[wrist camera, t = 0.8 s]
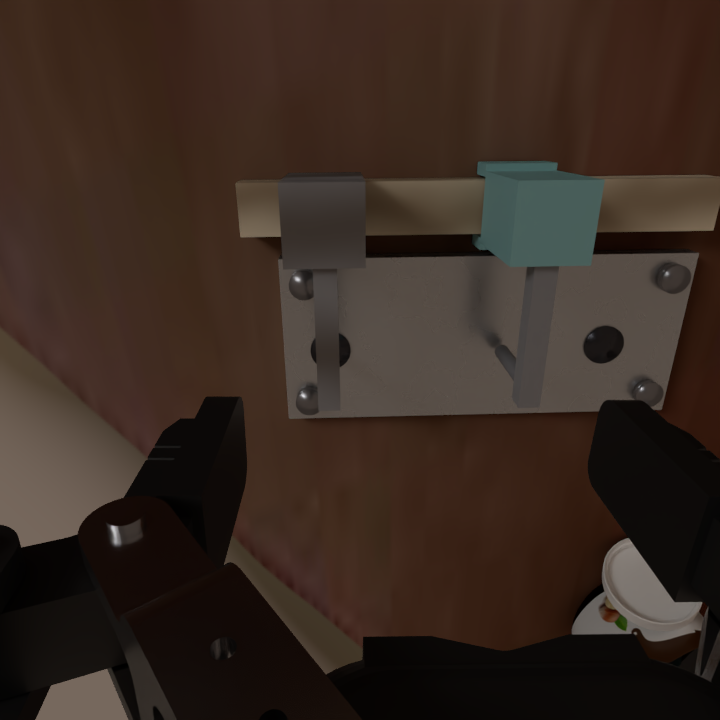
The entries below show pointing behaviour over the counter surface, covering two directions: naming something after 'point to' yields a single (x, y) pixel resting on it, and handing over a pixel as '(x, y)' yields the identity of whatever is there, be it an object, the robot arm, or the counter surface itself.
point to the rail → (424, 226)
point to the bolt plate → (487, 333)
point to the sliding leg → (536, 250)
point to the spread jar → (641, 610)
